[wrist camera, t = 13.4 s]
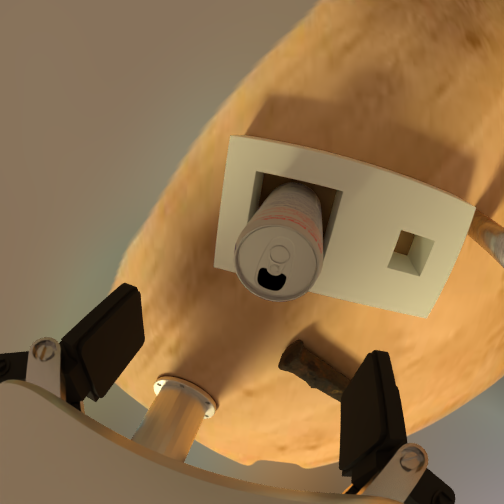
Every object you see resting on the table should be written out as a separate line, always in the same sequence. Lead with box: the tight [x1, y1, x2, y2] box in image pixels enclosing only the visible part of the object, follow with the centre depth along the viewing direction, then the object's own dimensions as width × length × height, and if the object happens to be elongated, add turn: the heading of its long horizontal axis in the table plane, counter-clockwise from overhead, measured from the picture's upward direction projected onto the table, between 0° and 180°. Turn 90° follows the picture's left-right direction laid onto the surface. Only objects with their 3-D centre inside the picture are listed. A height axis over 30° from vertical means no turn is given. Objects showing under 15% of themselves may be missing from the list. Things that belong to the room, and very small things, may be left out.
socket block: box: [214, 135, 476, 318], centre depth 23 cm, size 12×22×4 cm, turn 81°
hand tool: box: [278, 340, 351, 402], centre depth 32 cm, size 19×4×5 cm, turn 51°
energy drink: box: [234, 182, 323, 302], centre depth 21 cm, size 5×5×12 cm
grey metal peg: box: [467, 211, 504, 268], centre depth 17 cm, size 3×3×9 cm
